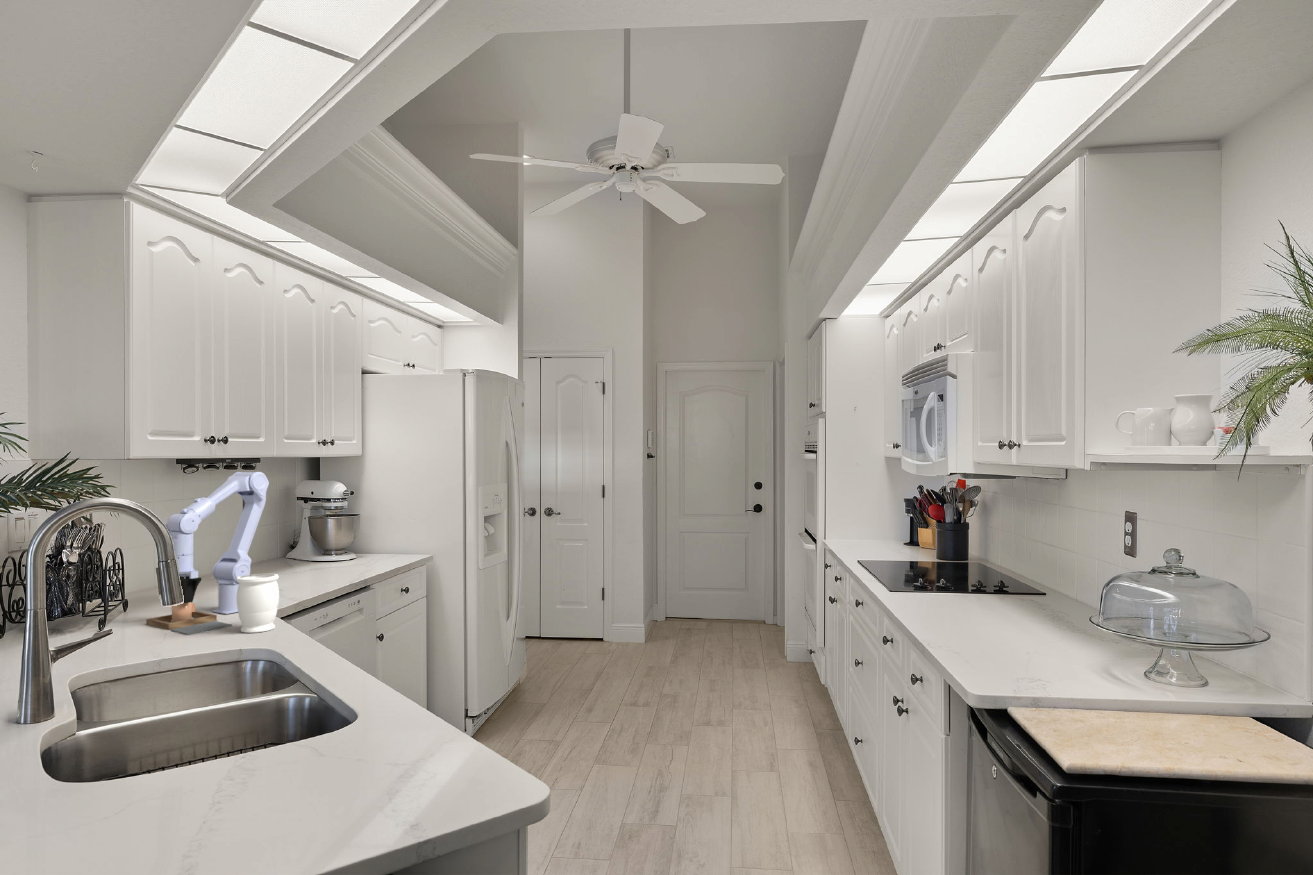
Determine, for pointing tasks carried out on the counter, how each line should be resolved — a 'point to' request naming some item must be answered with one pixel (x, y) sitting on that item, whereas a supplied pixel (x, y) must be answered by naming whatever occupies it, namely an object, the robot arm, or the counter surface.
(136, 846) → the counter surface
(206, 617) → the wooden tray
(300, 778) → the counter surface
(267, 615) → the jar
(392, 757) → the counter surface
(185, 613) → the jug
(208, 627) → the mat
